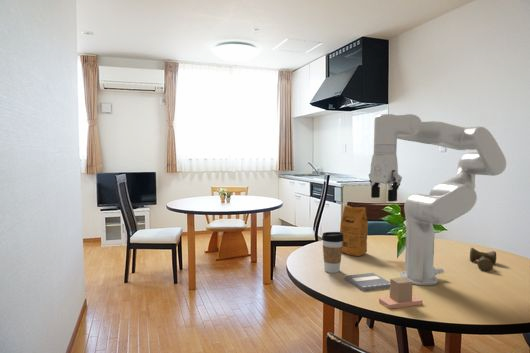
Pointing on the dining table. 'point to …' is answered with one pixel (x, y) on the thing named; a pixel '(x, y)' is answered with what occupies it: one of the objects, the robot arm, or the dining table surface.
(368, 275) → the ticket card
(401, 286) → the cube on pink base
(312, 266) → the dining table surface
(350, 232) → the coffee package
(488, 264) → the kendama
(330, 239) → the coffee cup
